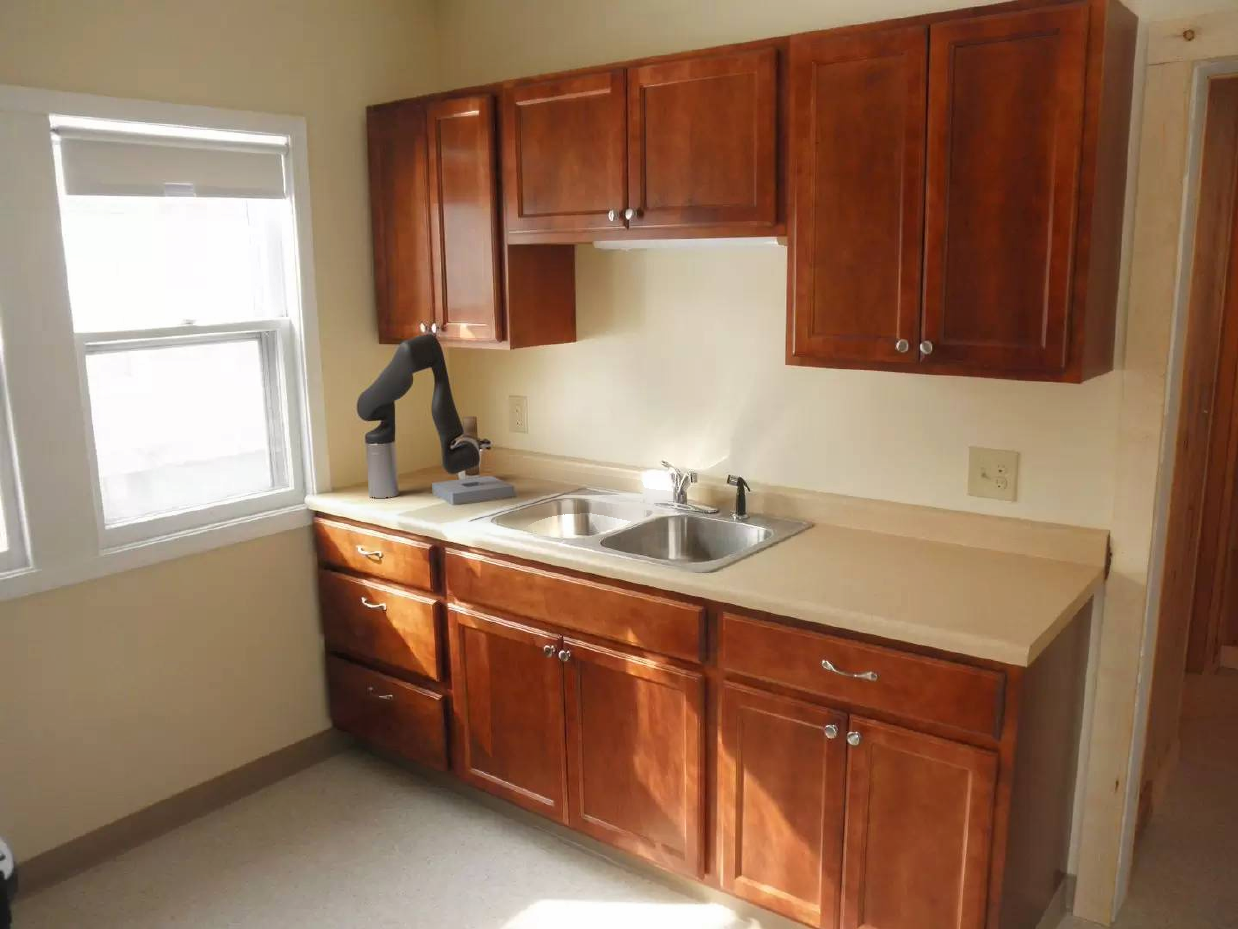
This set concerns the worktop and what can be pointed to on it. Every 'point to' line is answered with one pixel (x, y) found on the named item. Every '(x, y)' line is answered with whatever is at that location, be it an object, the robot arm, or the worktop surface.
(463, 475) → the cup
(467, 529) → the worktop surface
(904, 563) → the worktop surface
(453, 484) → the socket block
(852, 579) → the worktop surface
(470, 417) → the dowel
